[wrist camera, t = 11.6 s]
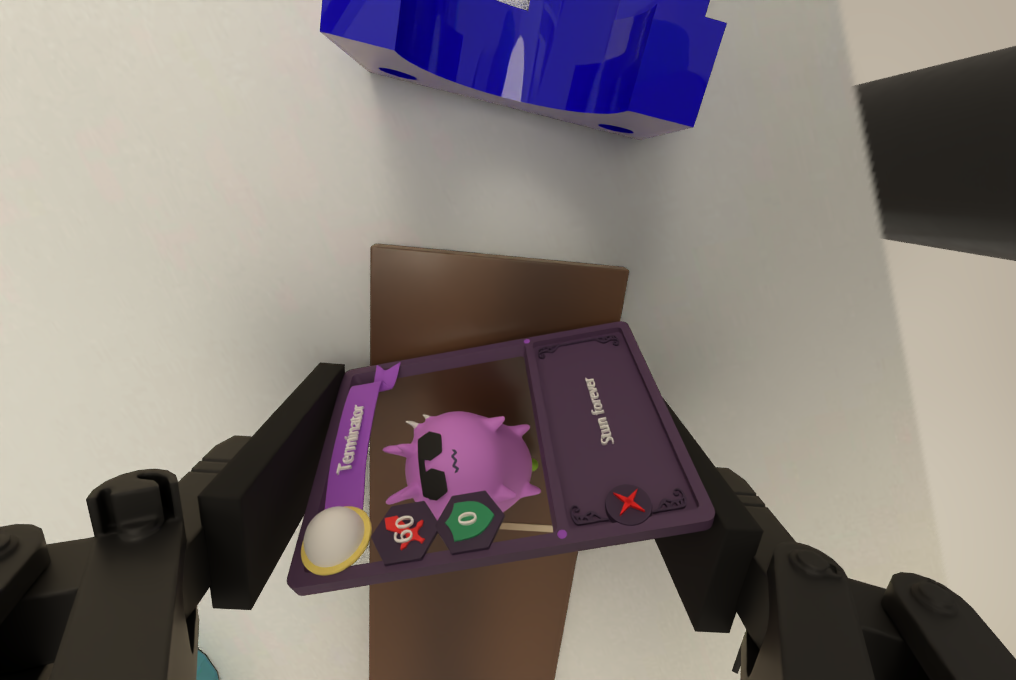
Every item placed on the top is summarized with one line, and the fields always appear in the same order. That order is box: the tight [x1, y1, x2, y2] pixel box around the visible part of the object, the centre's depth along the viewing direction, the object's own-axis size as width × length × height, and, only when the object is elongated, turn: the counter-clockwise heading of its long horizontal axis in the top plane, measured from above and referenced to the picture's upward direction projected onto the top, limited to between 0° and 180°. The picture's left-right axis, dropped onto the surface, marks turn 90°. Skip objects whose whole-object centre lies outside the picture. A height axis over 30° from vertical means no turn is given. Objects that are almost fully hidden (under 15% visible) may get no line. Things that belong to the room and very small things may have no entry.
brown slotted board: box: [369, 244, 629, 680], centre depth 18 cm, size 8×20×1 cm, turn 174°
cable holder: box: [320, 0, 727, 140], centre depth 11 cm, size 8×4×4 cm, turn 77°
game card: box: [287, 321, 715, 596], centre depth 13 cm, size 7×5×9 cm
